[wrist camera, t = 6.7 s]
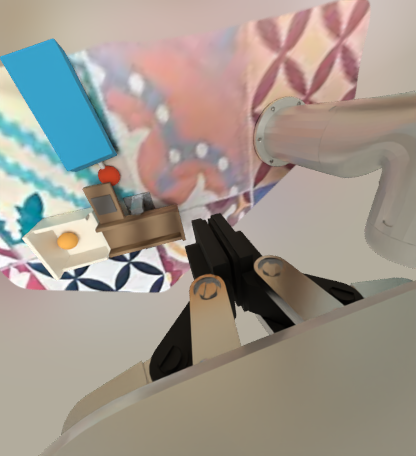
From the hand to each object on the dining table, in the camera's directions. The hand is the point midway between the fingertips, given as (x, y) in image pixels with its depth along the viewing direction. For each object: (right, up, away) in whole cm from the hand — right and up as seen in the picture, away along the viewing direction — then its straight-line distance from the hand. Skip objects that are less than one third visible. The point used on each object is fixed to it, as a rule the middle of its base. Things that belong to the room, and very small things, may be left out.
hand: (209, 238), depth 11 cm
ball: (-27, -2, +25) cm, 36 cm away
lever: (-20, +17, +19) cm, 33 cm away
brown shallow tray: (-13, +4, +24) cm, 28 cm away
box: (-25, 0, +27) cm, 37 cm away
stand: (-13, +3, +29) cm, 32 cm away
